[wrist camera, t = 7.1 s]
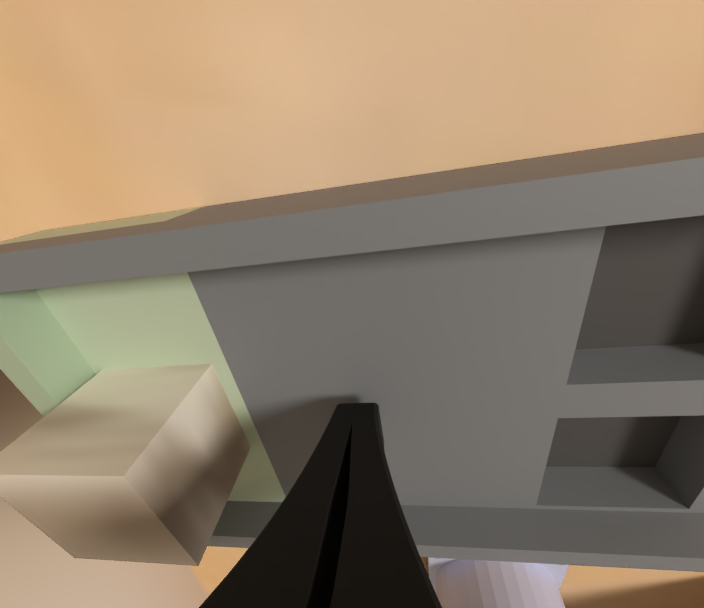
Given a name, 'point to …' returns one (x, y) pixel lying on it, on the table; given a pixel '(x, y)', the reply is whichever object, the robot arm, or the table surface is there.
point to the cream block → (130, 465)
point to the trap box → (422, 342)
